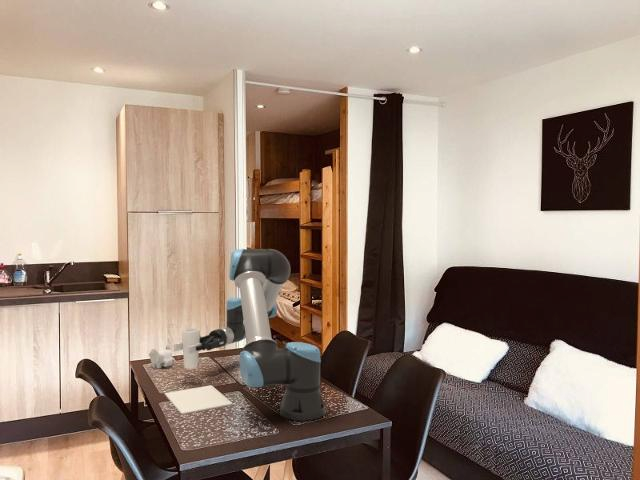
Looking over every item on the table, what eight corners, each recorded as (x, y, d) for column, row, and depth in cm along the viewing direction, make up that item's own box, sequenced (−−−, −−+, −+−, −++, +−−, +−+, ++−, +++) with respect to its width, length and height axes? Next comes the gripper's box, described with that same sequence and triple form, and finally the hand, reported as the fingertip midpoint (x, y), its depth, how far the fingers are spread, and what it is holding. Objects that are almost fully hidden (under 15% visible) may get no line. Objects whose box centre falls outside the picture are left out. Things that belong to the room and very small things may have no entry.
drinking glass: (191, 364, 201) (191, 327, 200) (203, 367, 197) (203, 329, 197) (178, 368, 195) (178, 330, 195) (190, 371, 192) (190, 332, 191)
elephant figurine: (163, 372, 211) (163, 351, 211) (144, 367, 217) (144, 347, 217) (180, 366, 219) (180, 346, 219) (161, 362, 225) (161, 342, 225)
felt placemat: (232, 404, 175) (232, 403, 175) (181, 414, 165) (181, 413, 165) (211, 386, 194) (211, 385, 194) (164, 394, 184) (164, 393, 184)
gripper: (239, 349, 207) (201, 362, 187) (202, 343, 217) (163, 355, 196) (239, 331, 207) (201, 342, 187) (203, 326, 216) (163, 336, 196)
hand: (181, 349), depth 192 cm, fingers closed on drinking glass, 7 cm apart
